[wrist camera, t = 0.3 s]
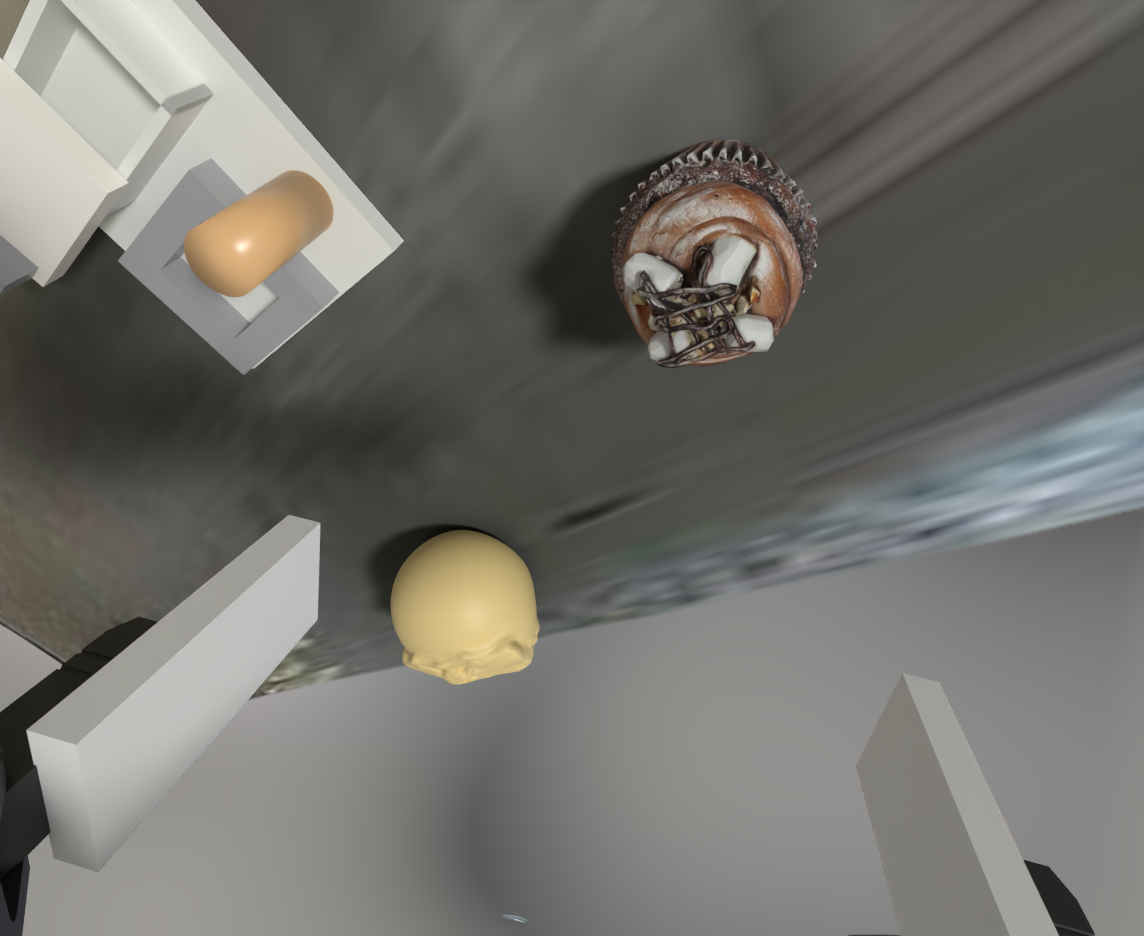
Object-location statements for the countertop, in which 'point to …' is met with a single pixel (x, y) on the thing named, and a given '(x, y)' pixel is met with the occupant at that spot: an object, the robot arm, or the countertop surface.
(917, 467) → the countertop surface
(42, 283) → the lid
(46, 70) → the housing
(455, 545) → the sculpture
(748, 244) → the cupcake
